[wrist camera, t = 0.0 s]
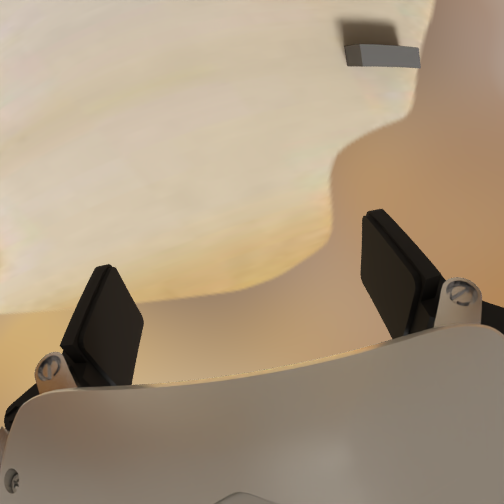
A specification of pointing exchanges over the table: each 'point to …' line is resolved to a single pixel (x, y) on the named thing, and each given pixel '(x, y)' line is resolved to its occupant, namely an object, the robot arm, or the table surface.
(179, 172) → the table surface
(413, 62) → the block
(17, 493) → the robot arm
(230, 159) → the table surface
